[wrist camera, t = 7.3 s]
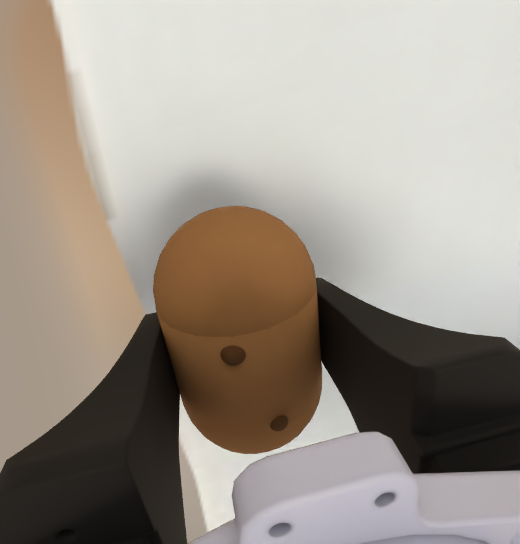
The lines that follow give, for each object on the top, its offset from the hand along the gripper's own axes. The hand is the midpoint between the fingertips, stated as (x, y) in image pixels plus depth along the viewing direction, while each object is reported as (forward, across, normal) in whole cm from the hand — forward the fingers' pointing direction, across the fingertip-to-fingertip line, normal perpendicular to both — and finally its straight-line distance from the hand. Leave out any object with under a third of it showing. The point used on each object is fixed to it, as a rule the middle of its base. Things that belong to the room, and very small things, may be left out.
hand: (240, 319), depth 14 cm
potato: (+1, 0, 0) cm, 1 cm away
